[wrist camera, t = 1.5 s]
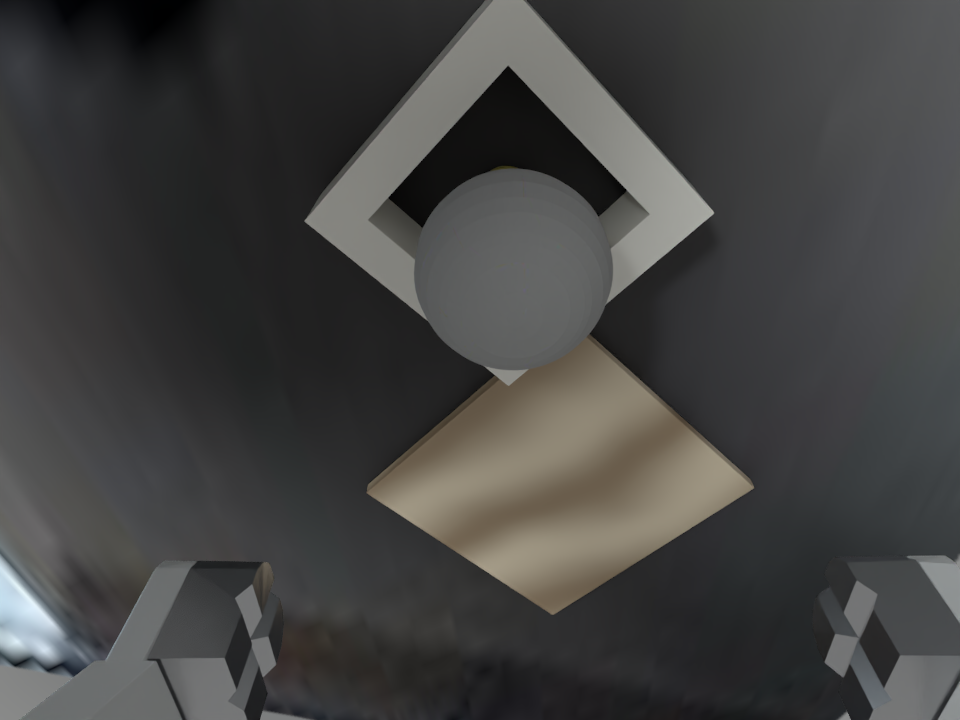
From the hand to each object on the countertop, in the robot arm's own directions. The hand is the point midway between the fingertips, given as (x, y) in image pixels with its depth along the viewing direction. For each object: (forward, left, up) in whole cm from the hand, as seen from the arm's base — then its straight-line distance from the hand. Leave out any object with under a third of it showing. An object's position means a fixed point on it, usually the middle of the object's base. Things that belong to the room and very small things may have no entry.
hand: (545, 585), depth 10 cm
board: (+12, -8, -18) cm, 23 cm away
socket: (0, 0, -18) cm, 18 cm away
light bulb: (0, 0, -18) cm, 18 cm away
